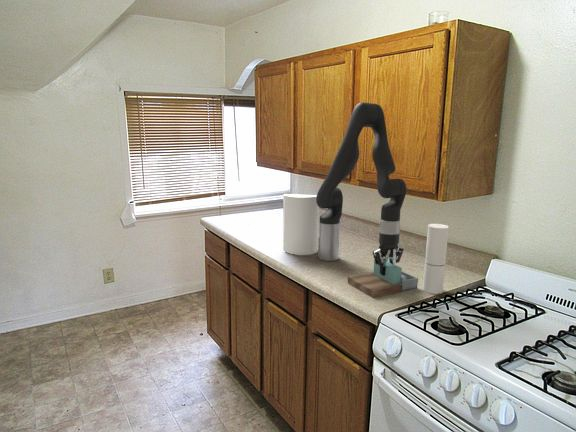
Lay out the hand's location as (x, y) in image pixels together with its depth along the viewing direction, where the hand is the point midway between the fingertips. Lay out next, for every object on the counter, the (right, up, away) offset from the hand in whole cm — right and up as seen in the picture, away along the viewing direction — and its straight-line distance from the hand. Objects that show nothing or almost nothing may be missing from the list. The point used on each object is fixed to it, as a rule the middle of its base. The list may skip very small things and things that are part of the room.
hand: (386, 274), depth 161 cm
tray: (+4, -4, +3) cm, 6 cm away
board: (-5, -5, -2) cm, 8 cm away
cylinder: (-32, +5, +46) cm, 56 cm away
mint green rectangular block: (0, -2, 0) cm, 2 cm away
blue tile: (+4, -2, -2) cm, 5 cm away
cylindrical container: (+16, -6, -4) cm, 18 cm away
